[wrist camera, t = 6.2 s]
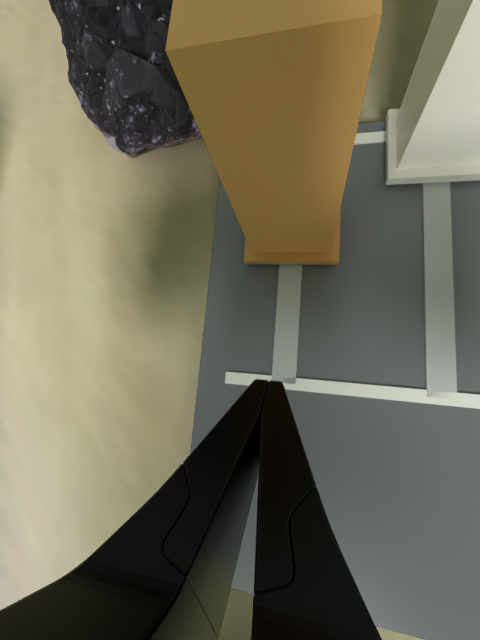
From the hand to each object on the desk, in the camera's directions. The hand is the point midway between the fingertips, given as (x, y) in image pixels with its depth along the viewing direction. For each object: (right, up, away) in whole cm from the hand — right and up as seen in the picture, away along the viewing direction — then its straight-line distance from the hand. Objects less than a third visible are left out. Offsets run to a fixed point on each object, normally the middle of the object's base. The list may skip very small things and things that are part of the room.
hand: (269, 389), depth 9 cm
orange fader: (+2, +7, +7) cm, 10 cm away
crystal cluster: (-6, +19, +12) cm, 23 cm away
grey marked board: (+5, +1, +6) cm, 8 cm away
